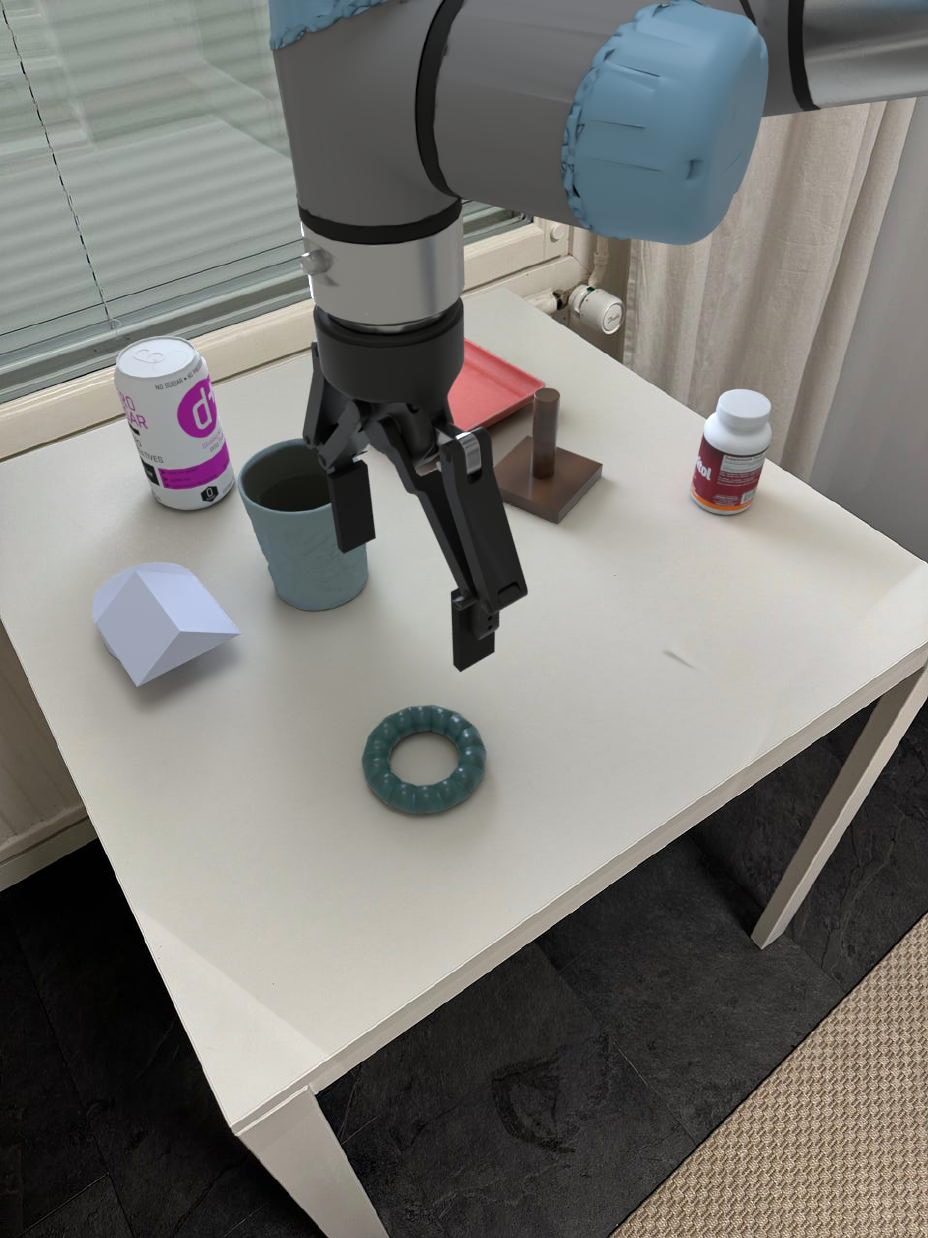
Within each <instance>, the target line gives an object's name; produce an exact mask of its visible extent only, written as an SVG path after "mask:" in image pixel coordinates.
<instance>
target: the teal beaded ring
mask: <svg viewBox="0 0 928 1238" xmlns="http://www.w3.org/2000/svg"><path fill="white" fill-rule="evenodd" d="M423 732H433V733H435V734H438V735H442V736H445V737H446V738H447V739H449V740H450V741H451V742H452V743H453V744H454V745H455V747H456V750H457V753H458V761H457V766H456V767H455V768H454V770H453V771H452V772H451V774H449V776H448V777H446V778H444V779H442V780H440V781H438V782H436V783H433V784H422V785H421V784H419V785H417V784H414V783H411V782H408V781H405V780H403V779H401V778H400V777H399V776H398V775H397V774H396V773H395V772H394V771H393V769H392V766H391V762H390V757H391V753H392V750H393V749H394V747H395V746H396V745H397V744H398V742H400V740H401V739H403V738H405V737H408V736H411V735H412V734H414V733H423ZM486 760H487V750H486V747H485V744H484V742H483V739H482V737H481V734H480V732H479V730H478V728H477V727H476V726H475V725H474V724H472V723H471V722H470V721H469V720H468V719H467V718H465V717H464V716H463V715H462V714H461V713H459V712H457V711H455V710H451V709H448V708H445V707H442V706H440V705H435V704H428V705H412V706H408V707H405V708H402V709H400V710H398V711H396V712H393V713H392V714H389V715H386V716H385V717H384V718H383V719H382V720H381V721H380V722H379V723H378V725H376V727H375V728H374V729H373V730H372V731H371V732H370V733H369V734H368V735H367V738H366V742H365V745H364V749H363V752H362V756H361V766H362V769H363V774H364V777H365V780H366V784H367V786H368V787H369V789H370V790H371V791H372V792H373V793H374V794H375V795H376V796H377V797H378V798H379V799H380V800H381V801H382V802H383V803H384V804H386V805H387V806H389V807H391V808H394V809H397V810H400V811H403V812H406V813H409V814H412V815H420V814H433V813H442V812H444V811H446V810H448V809H450V808H452V807H454V806H456V805H458V804H460V803H462V802H464V801H466V800H467V799H468V798H469V797H470V795H471V794H472V793H473V792H474V790H475V789H476V787H477V786H478V785H479V784H480V783H481V781H482V779H483V777H484V772H485V767H486Z"/></svg>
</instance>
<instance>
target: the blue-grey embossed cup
mask: <svg viewBox="0 0 928 1238" xmlns="http://www.w3.org/2000/svg"><path fill="white" fill-rule="evenodd" d="M318 453H319V450H318V449H317V448H316V447H315V448H312V449H309V448H308V447H307V446H306V444H305V443H304V441H303V437H299V438H292V439H286V440H282V441H279V442H275V443H273V444H270V445H269V446H266V447H264V448H262V449H260V450H259V451H257V452H256V453H255V454H253V455H252V456H250V458H248V460H247V461H246V462H244V464H243V465H242V467H241V469H240V470H239V474H238V477H237V489H238V493H239V496H240V499H241V500H242V501H241V502H242V503H243V506H244V508H245V511H246V514H247V515H248V518H249V519H250V522H251V525H252V528H253V532H254V534H255V536H256V539H257V542H258V545H259V547H260V550H261V553H262V555H263V556H264V558H265V560H266V562H267V570H268V573H269V576H270V578H271V581H272V584H273V586H274V589H275V592H276V593H277V594H278V596H279V597H280V598H281V599H282V600H283V601H284V602H285V603H286V604H288V605H290V606H291V607H294V608H296V609H300V610H304V611H312V612H320V611H326V610H331V609H334V608H337V607H340V606H342V605H344V604H346V603H348V602H350V601H352V600H353V599H354V598H356V597H357V596H358V595H359V594H360V593H361V592H362V590H363V589H364V587H365V585H366V582H367V579H368V555H367V554H368V553H367V543H365V544H363V545H361V546H359V547H357V548H355V549H353V550H351V551H349V552H347V553H345V554H343V553H342V552H341V551H340V550H339V549H338V544H337V538H336V531H335V525H334V519H333V512H332V506H331V500H330V494H329V487H328V481H327V470H325V469H324V468H323V467H322V466H321V465H320V463H319V459H318ZM359 460H360V459H359V458H358V456H357V457H355V458H353V463H354V462H356V461H359Z"/></svg>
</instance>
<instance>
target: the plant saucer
mask: <svg viewBox="0 0 928 1238" xmlns="http://www.w3.org/2000/svg"><path fill="white" fill-rule="evenodd" d="M540 388H546V382H544V381H543V380H541V379H540V378H537V377H536V376H534V375H532V374H530V373H529V372H527V371H525V370H523V369H522V368H520V367H518V366H516V365H514V364H513V363H511V362H509V361H507V360H506V359H503V358H502V357H500V356H498V355H497V354H494V353H493V352H491V351H490V350H488V349H486V348H484V347H482V346H480V345H479V344H477V343H475V342H474V341H472V340H470V339H468V338H466V337H464V364H463V367H462V369H461V372H460V373H459V375H458V377H457V378H456V380H455V381H454V383H453V385H452V387H451V389H450V391H449V393H448V402H449V406H450V410H451V413H452V416H453V420H454V425H455V426H457V427H459V428H460V429H462V430H464V431H465V432H470V431H472V430H475V429H477V428H479V427H483V428H485V429H486V430H487V428H490V427H491V426H493V425H495V424H496V423H498V422H500V421H502V420H503V419H505V418H506V417H509V416H511V415H512V414H514V413H516V412H518V411H519V410H521V409H522V408H524V407H525V406H527V405H528V404H529V403H531V402H532V401H534V394H535V392H536V391H537V390H538V389H540ZM437 457H440V454H439V453H438V454H437V455H436V456H435V458H437Z"/></svg>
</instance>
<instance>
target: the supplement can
mask: <svg viewBox="0 0 928 1238" xmlns="http://www.w3.org/2000/svg"><path fill="white" fill-rule="evenodd" d="M115 360H116V361H115V363H116V364H115V369H114V373H113V376H114V377H113V379H114V381H113V383H114V386H115V388H116V392H117V395H118V397H119V399H120V400H119V401H120V403H121V406H122V409H123V411H124V415H125V417H126V420H127V423H128V426H129V429H130V432H131V435H132V438H133V441H134V443H135V446H136V449H137V452H138V455H139V458H140V461H141V463H142V467H143V470H144V472H145V473H144V474H145V475H146V478H147V481H148V485H149V486H150V487H149V488H150V490H151V492H152V494H153V496H154V497H155V499H156V500H157V502H159V503H161V504H163V505H165V506H166V507H170V508H173V509H175V510H182V511H194V510H200V509H201V510H202V509H204V508H207V507H210V506H212V505H214V504H216V503H217V502H219V501H221V500H222V499H223V498H224V497H225V496H226V495H227V494H228V492H229V491H230V490H231V489H232V488H233V485H234V482H235V480H236V479H235V472H234V468H233V463H232V459H231V455H230V451H229V448H228V444H227V439H226V436H225V433H224V428H223V424H222V420H221V416H220V412H219V409H218V404H217V401H216V396H215V392H214V389H213V385H212V382H211V376H210V373H209V369H208V365H207V361H206V359H205V358H204V357H203V356H202V355H201V354H200V353H199V352H198V351H197V350H196V347H195V346H194V344H192V342H191V341H190V340H187V339H186V338H183V337H180V336H171V335H160V336H152V337H146V338H143V339H140V340H137V341H135V342H133V343H130V344H129V345H127V346H126V347H124V348H123V349H122V350H120V352H119V353H118V355H117V356H116V359H115Z"/></svg>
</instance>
